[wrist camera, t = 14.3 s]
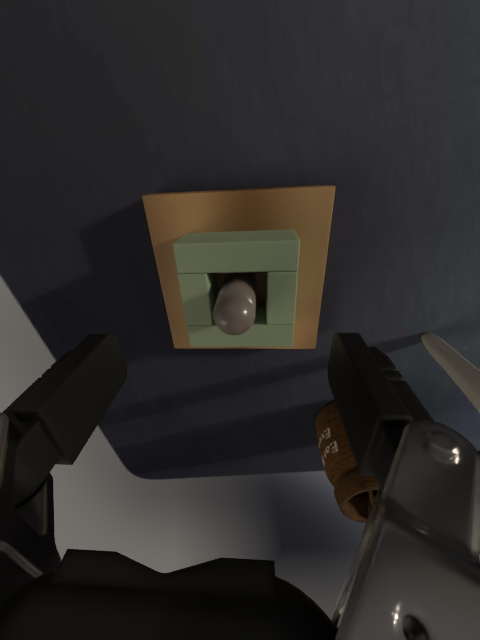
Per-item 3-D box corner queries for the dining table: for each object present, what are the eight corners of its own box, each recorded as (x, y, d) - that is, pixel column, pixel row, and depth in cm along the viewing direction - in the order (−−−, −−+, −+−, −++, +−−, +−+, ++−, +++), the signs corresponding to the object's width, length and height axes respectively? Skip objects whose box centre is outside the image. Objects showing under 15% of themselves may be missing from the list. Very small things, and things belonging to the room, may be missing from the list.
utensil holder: (381, 390, 21) (500, 602, 11) (382, 437, 24) (477, 640, 14) (309, 400, 22) (352, 601, 12) (318, 444, 25) (360, 636, 15)
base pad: (180, 337, 20) (148, 402, 14) (151, 193, 15) (84, 206, 9) (311, 337, 19) (333, 406, 13) (328, 184, 14) (375, 193, 8)
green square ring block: (198, 324, 17) (189, 347, 15) (185, 232, 14) (171, 244, 12) (288, 324, 17) (293, 347, 14) (294, 228, 14) (300, 239, 11)
